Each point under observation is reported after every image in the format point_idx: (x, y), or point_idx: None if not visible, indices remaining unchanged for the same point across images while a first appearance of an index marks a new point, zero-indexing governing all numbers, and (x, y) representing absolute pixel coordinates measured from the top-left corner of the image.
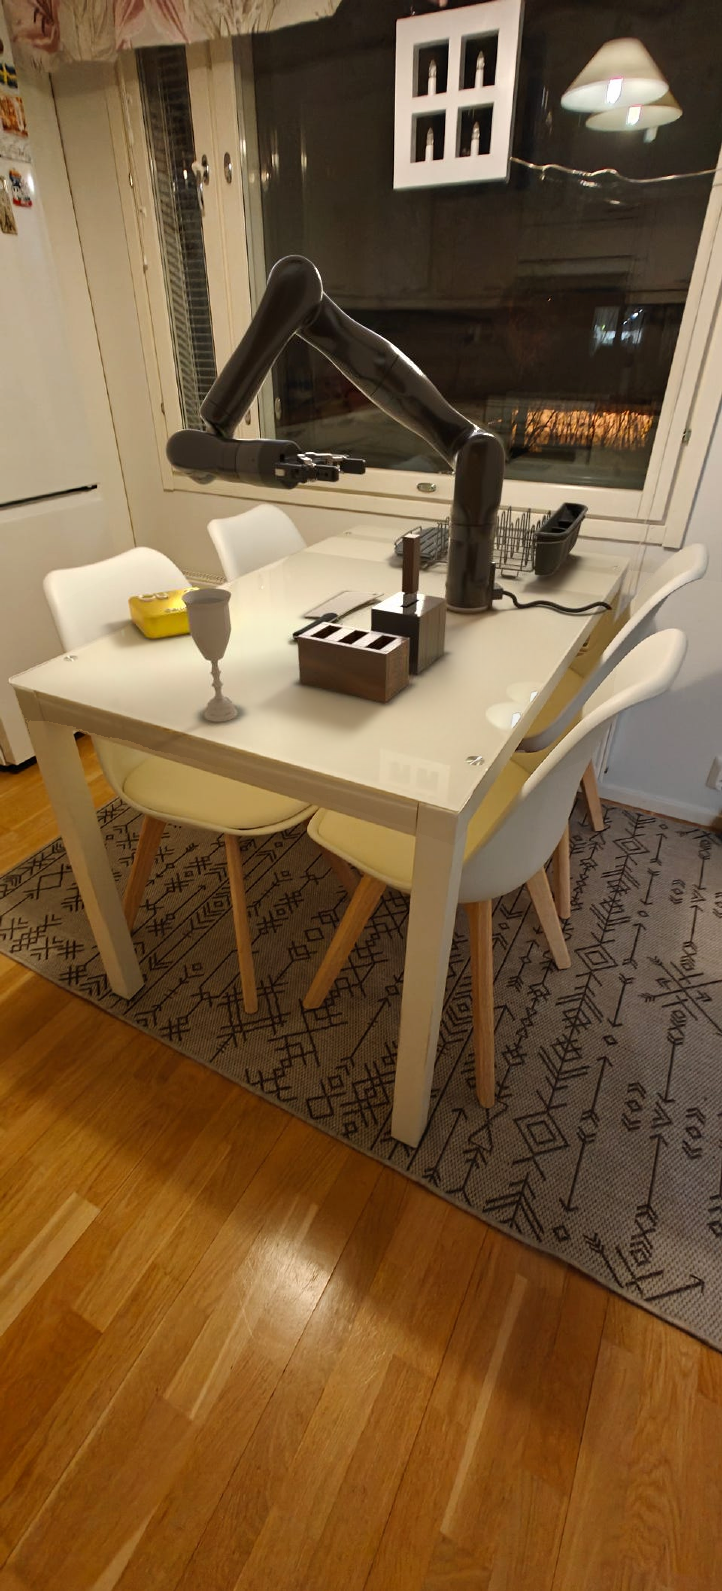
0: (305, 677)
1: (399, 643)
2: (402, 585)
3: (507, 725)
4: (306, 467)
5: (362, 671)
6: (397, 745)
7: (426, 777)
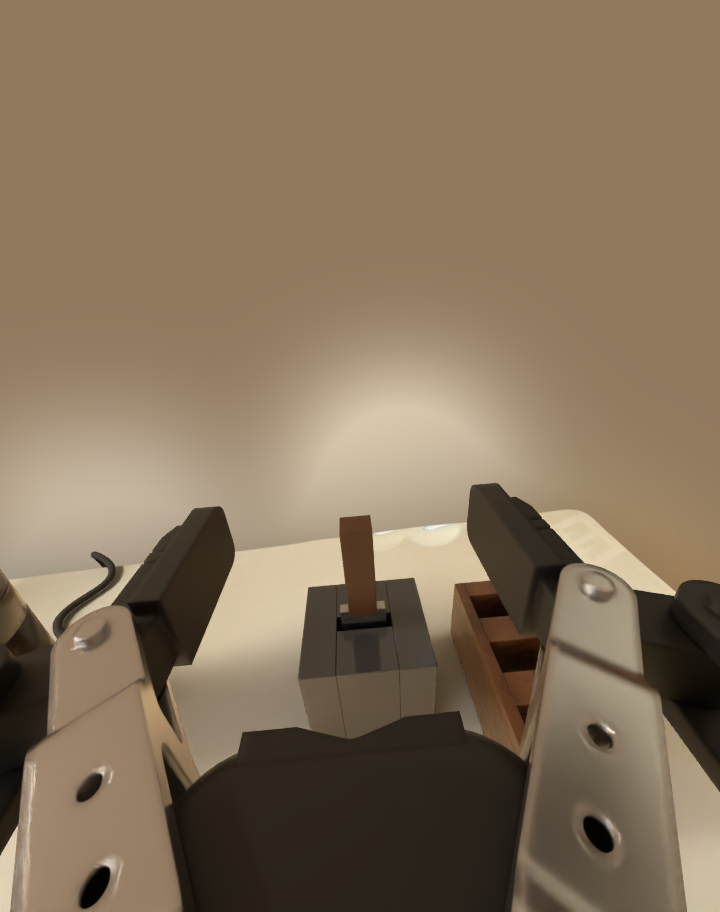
0: None
1: (483, 583)
2: (376, 603)
3: (451, 526)
4: (675, 594)
5: None
6: None
7: (576, 531)
